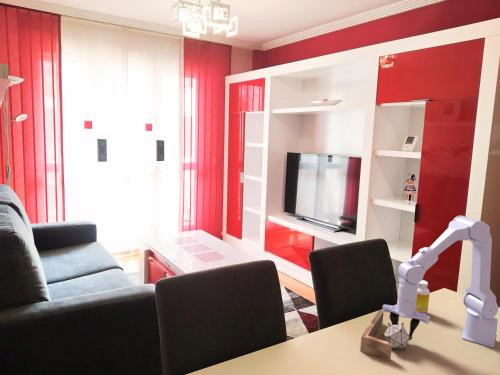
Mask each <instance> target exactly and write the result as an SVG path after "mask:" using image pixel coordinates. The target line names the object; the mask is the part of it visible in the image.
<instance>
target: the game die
mask: <svg viewBox="0 0 500 375" xmlns="http://www.w3.org/2000/svg"><path fill="white" fill-rule="evenodd" d="M404 324H405V323H404V322H402V323H401V324H398V325H392V324H390V322H387V325H388V326H387V328H386V330H385V331H384V333H382V334H380V335H381V337H384V339H385V341H387V342H389V343H391V344H392V349H396V348H397V349H403V350H404V351H406V346H407V344H408V343H409V341H410V340H409V339H410V338H411V339H414V337H413V336H412V337H410V336H409V333H408V332H407V330H406V328H405V326H404Z"/></svg>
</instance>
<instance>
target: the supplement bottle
mask: <svg viewBox="0 0 500 375" xmlns="http://www.w3.org/2000/svg"><path fill="white" fill-rule="evenodd" d="M428 286H429V283H428V281H427V280H423V279H422V281H420V282H419V283H418V289H417V298H416V307H415V311H417V312H419V313H421V314H424V315H427V314H428V311H429V301H430V294H431V292H430V290H429V288H428ZM427 316H428V315H427Z"/></svg>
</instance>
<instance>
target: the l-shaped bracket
mask: <svg viewBox="0 0 500 375" xmlns="http://www.w3.org/2000/svg"><path fill="white" fill-rule="evenodd" d="M384 313H385V312H383V311H382V309H379V310H378V312H376V314H375V316H374V317H373V319H372V320H371V321H370V323H369V324H368V326H367V327H366V329H365V330H364V332H363V333H362V335H361V340H360V349H359V352H361V353H365V354H367V355H370V356H373V357H376V358H378V359H379V358H380V359H382V360H385V361H388V362H390V361H391V358H392V349H393V348H392V344H391V343H389V342H387V340H383V339H379V338H377V337H376V335H377V333H378V332H379V330H380V328H381V326H382V325H383V321H384Z"/></svg>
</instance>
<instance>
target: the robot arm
mask: <svg viewBox="0 0 500 375" xmlns="http://www.w3.org/2000/svg"><path fill="white" fill-rule="evenodd" d="M490 228H491V227H490V225H488V224H487V223H486V222H485V221H483V220H477V219H474V218H470V217H467V216H465V215H457V216H456V217H454V218H453V220H451V221H450V222H449V224H448V226H447V229H445V231H444V232H442V234H441V235H440V236H439V237H438V238H437V239H436V240H435V241H434V242H433V243H432V244H431V245H430V246H428V247H427V246H425V247H422V248H420V249H419V250H418V252H417V253H416V254H415V255H414V256H412V258H409V259H408V261H405V262H404V261H403V262H402V263H400V265H398V268H396V274H397V276H398V281H399V284H398V291H397V300H396V301H397V302H396V305H391V304H383V305H382V309H381V310H382V311H383V312H384V313H390V314H389V320H390V322H391V325H399V320H400V317H401V318H405V319H407V318H408V319H411V320H410V321H409V322H410V323H409V333H408V334H409V336H410V337H413V334H414V332H415V331H416V329H417V327H418V326H419V324H420V322H423V323H424V324H427V325H429V323H430V318H431V317H430V315H424V314H421V313H419V312H417V311H415V307H416V298H417V289H418V283H419V282H420V281H422V280H423V279H424V275H425V274H426V273H427V270H429V269H431V267H432V266H433V265H435V264H436V263H437V261H438V260H439V255H440V254H441V253H443V252H444V251H445V250H446V249H447V248H449V247H450V246H451V245H453V244H454V243H456V242H457V241H470V242H471V243H472V247H471V248H472V252H471V254H472V255H471V256H472V257H471V275H470V276H471V278H470V280H471V281H470V286H468V287H466V288H465V294H464V295H463V298H462V303H463V305H464V306H465V310H466V315H465V316H466V317H465V324H464V328H463V330H462V335H461V336H462V337H461V339H462V340H466V341H468V342H469V341H470V342H473V343H476V344H480V345H483V346H487V347H490V348H495V345H496V344H495V343H496V341H497V336H498V335H497V332H498V331H497V330H498V318H496V316H497V314H498V312H499V305H498V303H497V296H496V295H495V294H494V293H493V290H491V288H490V286H491V266H492V245H493V238H492V235H491V232H490ZM411 340H412V338H410V339H409V341H411Z"/></svg>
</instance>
